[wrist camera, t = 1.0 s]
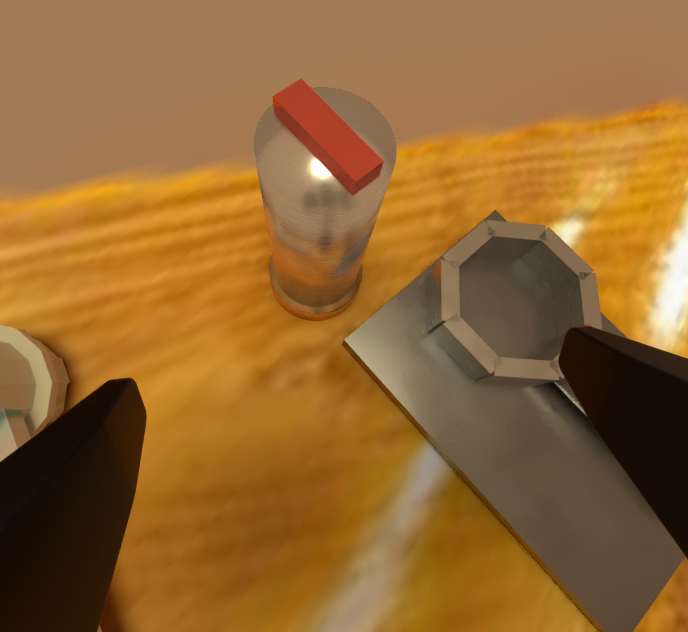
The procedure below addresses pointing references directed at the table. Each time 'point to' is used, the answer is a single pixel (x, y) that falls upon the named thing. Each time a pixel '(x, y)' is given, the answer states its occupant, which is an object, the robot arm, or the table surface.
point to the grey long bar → (28, 389)
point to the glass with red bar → (321, 193)
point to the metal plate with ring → (521, 410)
